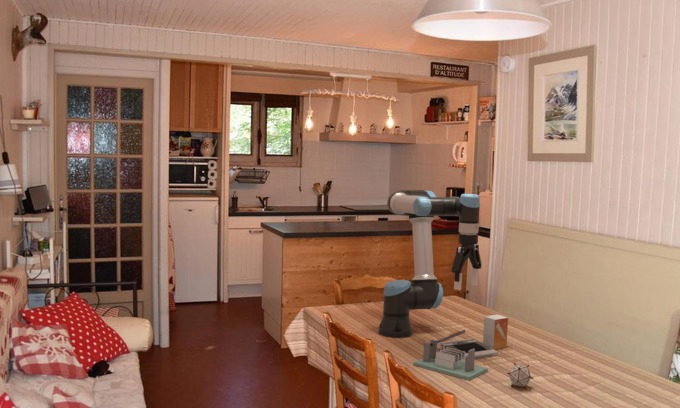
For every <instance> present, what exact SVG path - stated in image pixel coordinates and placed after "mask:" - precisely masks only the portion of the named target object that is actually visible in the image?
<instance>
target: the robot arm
mask: <svg viewBox="0 0 680 408" xmlns="http://www.w3.org/2000/svg"><path fill="white" fill-rule="evenodd" d="M386 205H387V208H388V210H389V211H390V212H391V213H392V214H395V215H397V216H403V217H404V216H405V217H406V216H408V221H409V222H410V223H411V224H412V225H411V227H412V241H413V242H412V244H413V245H412V247H413V262H414V263H413V264H414V265H413V266H414V267H413V268H414V277H412V278H411V281H409V280H407V279H402V280H401V279H396V280H391V281H388V282H386V283H385V285H384V286H383V287H384V288H383V304H382V305H383V311H382V317H381V321H380V323H379V326H378V334H379V335H381V336H385V337H390V338H399V339H400V338H408V337H411V336H412V335H413V331H414V329H413V327H412V326H413V325H412V322H411V319H410V310H412V311H413V310H431V309H432V310H434V309H438V308H439V307H440V306H441V304H442V302H443V299H444V287H443V285H442V284H441V283H440V282H439V281H438V278H437V277H436V276H435V274H434V271H435V270H434V254H433V236H432V233H433V232H432V222H433V220H435V217H458V218H459V219H458V220H459V221H458V222H459V224H458V239H457V241H458V244H460V246H456V250H455V254H454V255H455V256H454V259H453V263H452V267H451V270H450V272H452V273H454V280H453V281H454V282H453V290H456V291H462V284H463V283H462V280H463V279H462V278H463V273H462V270H463V267H464V266H465V263H466V261H467V260H468V259H469V262H470V264H471V267H472V268H471V270H470V271H471V272H470V285H473V286H478V285H479V270H481V269H482V259H481V255H480V249H479V248H480V247H479V246H480V245H479V243H478V242H479V235H478V233H479V228H480V225H479V223H480V209H481V207H480V206H481V202H480V195H479V194H476V193H462V194H461V195H460V197H459V196H449V197H448V196H439V197H437V195H436V194H435V193H434V192H433V191H431V190H425V189H423V190H421V189H420V190H419V189H418V190H417V189H415V190H414V189H411V190H410V189H409V190H408V189H406V190H405V189H401V190H395V191H393V192H392V193H391V194H390V195H389V196H388V198H387V201H386Z"/></svg>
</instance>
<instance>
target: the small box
mask: <svg viewBox="0 0 680 408" xmlns="http://www.w3.org/2000/svg"><path fill="white" fill-rule="evenodd" d="M508 325H509V317H507V316H504V315H500V314H492V315H491V314H490V315H486V316H484V317H483V335H482V336H483V337H482V343H483V344H485V345H486V346H488V347H490V348H491V349H494V350H495V351H496V350H500V349H506V348H507V346H508V345H507V342H508V341H507V340H508V327H509V326H508Z"/></svg>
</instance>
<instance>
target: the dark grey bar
mask: <svg viewBox="0 0 680 408" xmlns="http://www.w3.org/2000/svg"><path fill="white" fill-rule="evenodd" d="M463 334H466V329H463V330H461V331H459V330H457V331H455V332H452V333H449V334H448V336H446V337H443V338H441V339H437V341H436V342H433V343H431V342H430V343H431V346H434V345H436V344H437V345H439V344H440V343H441V342H447V340H448V341H449V340H451V339H453V338H456V337H458V336H460V335H463Z"/></svg>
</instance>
